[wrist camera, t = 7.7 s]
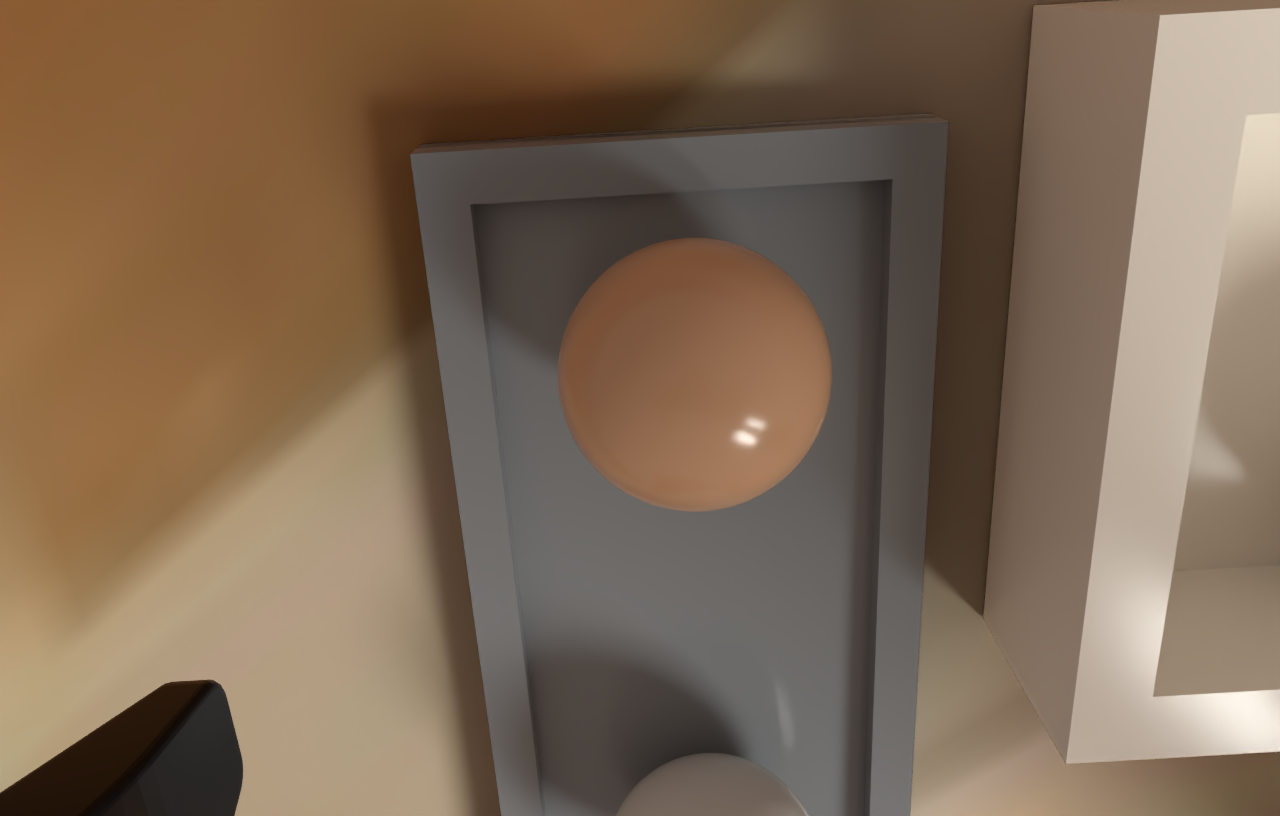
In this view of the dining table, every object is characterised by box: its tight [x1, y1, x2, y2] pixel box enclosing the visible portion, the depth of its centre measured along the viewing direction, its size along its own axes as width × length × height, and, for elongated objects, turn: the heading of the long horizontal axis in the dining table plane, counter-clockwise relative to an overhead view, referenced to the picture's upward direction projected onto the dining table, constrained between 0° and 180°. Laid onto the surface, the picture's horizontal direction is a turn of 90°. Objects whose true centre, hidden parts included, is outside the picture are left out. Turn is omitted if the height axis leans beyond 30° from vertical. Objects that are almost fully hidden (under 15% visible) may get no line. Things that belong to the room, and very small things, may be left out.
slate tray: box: [410, 113, 949, 816], centre depth 19 cm, size 16×8×1 cm, turn 3°
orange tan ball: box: [558, 237, 832, 512], centre depth 15 cm, size 4×4×4 cm
